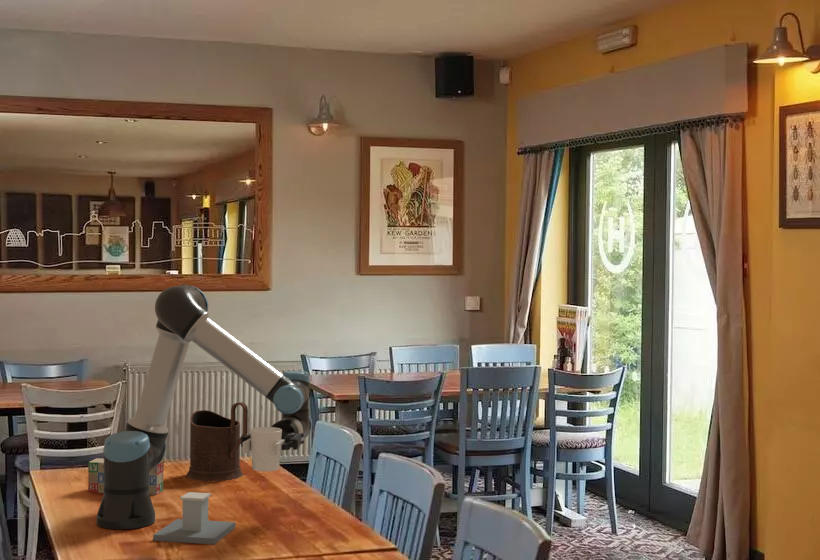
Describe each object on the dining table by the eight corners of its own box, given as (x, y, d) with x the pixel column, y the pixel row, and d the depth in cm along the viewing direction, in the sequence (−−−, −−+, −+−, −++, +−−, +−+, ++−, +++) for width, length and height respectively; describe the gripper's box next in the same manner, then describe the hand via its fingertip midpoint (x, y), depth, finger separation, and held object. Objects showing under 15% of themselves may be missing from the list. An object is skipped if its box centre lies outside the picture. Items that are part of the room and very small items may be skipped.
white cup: (265, 473, 255) (266, 433, 254) (243, 469, 259) (243, 429, 259) (287, 468, 261) (288, 429, 261) (265, 464, 266) (266, 425, 265)
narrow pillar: (153, 540, 258) (153, 500, 258) (177, 524, 274) (177, 486, 273) (214, 544, 255) (214, 504, 255) (235, 527, 271) (235, 489, 271)
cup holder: (218, 467, 348) (219, 393, 347) (267, 477, 333) (268, 400, 332) (173, 475, 334) (174, 398, 333) (222, 487, 318) (223, 406, 318)
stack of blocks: (87, 492, 309) (87, 451, 308) (95, 488, 315) (96, 448, 314) (156, 495, 306) (157, 454, 306) (163, 490, 313) (164, 450, 312)
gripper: (322, 448, 276) (299, 465, 254) (249, 445, 279) (220, 461, 257) (322, 421, 276) (300, 435, 253) (249, 417, 279) (220, 431, 257)
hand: (260, 448), depth 255 cm, fingers closed on white cup, 8 cm apart
